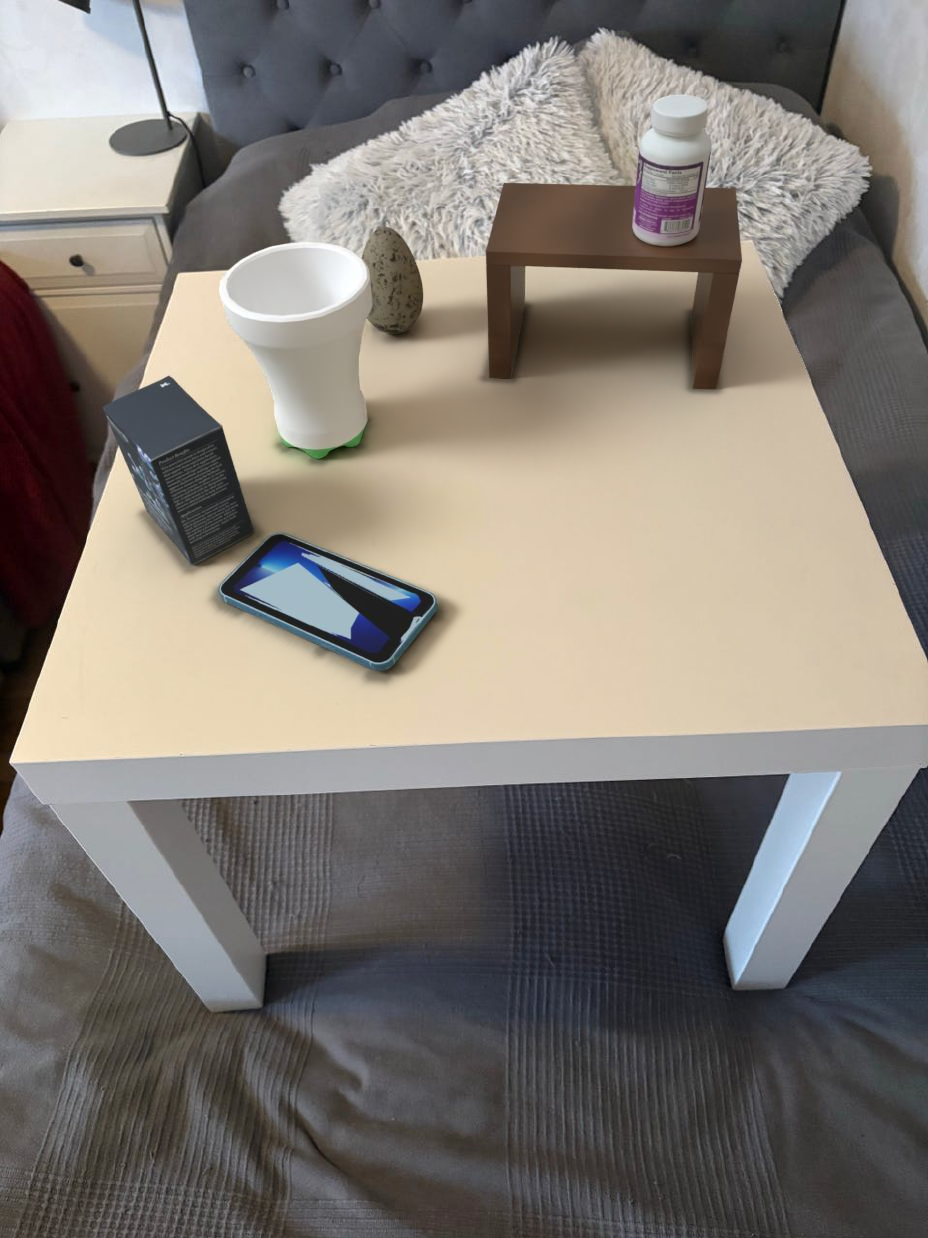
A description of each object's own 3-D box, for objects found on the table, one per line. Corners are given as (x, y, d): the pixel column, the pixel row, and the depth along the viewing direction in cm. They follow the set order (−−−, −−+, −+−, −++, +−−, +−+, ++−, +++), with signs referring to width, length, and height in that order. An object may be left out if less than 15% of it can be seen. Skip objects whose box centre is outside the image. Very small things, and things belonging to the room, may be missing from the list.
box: (145, 514, 73) (99, 404, 65) (209, 482, 75) (172, 372, 67) (191, 568, 69) (148, 459, 60) (257, 534, 71) (223, 423, 63)
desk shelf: (712, 313, 88) (735, 187, 78) (716, 389, 80) (742, 259, 71) (504, 305, 90) (503, 182, 81) (488, 377, 82) (485, 250, 73)
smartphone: (275, 528, 70) (442, 596, 64) (278, 537, 70) (443, 605, 65) (211, 591, 66) (383, 670, 60) (215, 600, 67) (385, 678, 61)
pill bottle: (647, 210, 76) (661, 84, 69) (708, 224, 74) (729, 96, 67) (620, 239, 73) (631, 111, 66) (682, 254, 72) (701, 124, 64)
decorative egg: (408, 352, 86) (397, 250, 78) (353, 339, 87) (337, 238, 80) (436, 319, 89) (429, 218, 81) (383, 307, 91) (371, 207, 83)
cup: (335, 492, 73) (304, 336, 63) (232, 447, 78) (186, 294, 67) (415, 416, 79) (399, 262, 68) (315, 379, 83) (285, 227, 73)
